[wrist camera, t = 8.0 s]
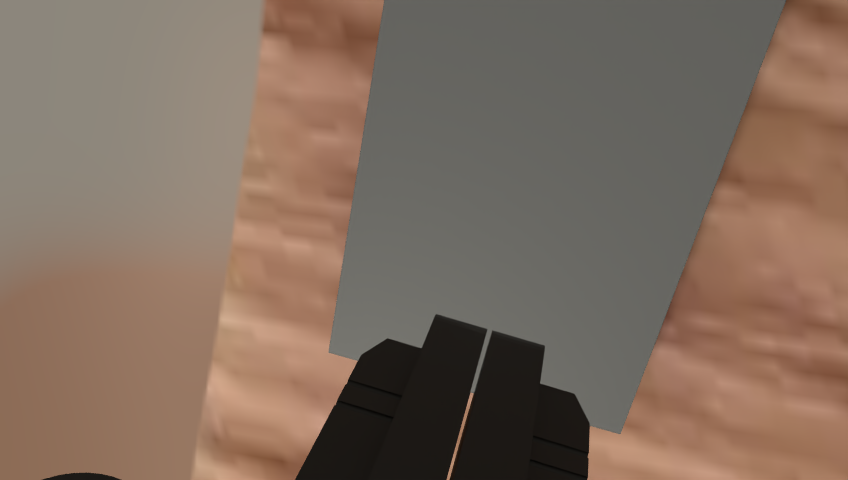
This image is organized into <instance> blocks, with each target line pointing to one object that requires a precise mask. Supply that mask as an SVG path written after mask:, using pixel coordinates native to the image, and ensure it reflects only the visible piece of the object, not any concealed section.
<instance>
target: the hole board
mask: <svg viewBox="0 0 848 480" xmlns="http://www.w3.org/2000/svg"><path fill="white" fill-rule="evenodd" d="M785 2H786V0H384V6H383V12H382V18H381V24H380V31H379V37H378V43H377V50H376V56H375V62H374V69H373V75H372V81H371V88H370V94H369V100H368V107H367V113H366V119H365V125H364V132H363V138H362V144H361V151H360V157H359V163H358V170H357V176H356V182H355V189H354V195H353V201H352V208H351V214H350V220H349V226H348V233H347V239H346V245H345V252H344V258H343V264H342V271H341V277H340V283H339V290H338V296H337V302H336V309H335V315H334V321H333V327H332V334H331V340H330V346H329V353H332V354H336V355H339V356H343V357H346V358H350V359H353V360H357V361H358V360H359V358H360V356H361V355H362V354H363V353H365V352H366V351H368V350H370V349H371V348H373V347H374V346H376V345H378V344H379V343H381V342H382V341H384V340H385V339H387V338H389V339H392V340H395V341H399V342H402V343H405V344H409V345H412V346H415V347H419V348H422V346H423V344H424V341H425V339H426V336H427V334H428V331H429V329H430V326H431V324H432V322H433V319H434V317H435V315H436V314H438V315H442V316H445V317H448V318H452V319H455V320H459V321H462V322H466V323H469V324H472V325H476V326H479V327H483V328H486V329H487V333H486V337H485V340H484V344H483V348H482V351H481V355H480V359H479V362H478V366H477V370H476V373H475V377H474V381H473V384H472V388H471V393H474V391H475V388H476V384H477V381H478V377H479V374H480V371H481V367H482V364H483V360H484V357H485V353H486V350H487V346H488V343H489V340H490V336H491V333H492V330H494V331H497V332H500V333H504V334H507V335H511V336H514V337H517V338H521V339H524V340H528V341H531V342H535V343H538V344H541V345H545V352H544V359H543V366H542V373H541V381H540V384H544V385H547V386H550V387H554V388H557V389H560V390H564V391H567V392H570V393H574V394H575V395H576V397H577V399H578V401H579V403H580V405H581V407H582V409H583V411H584V413H585V415H586V417H587V419H588V421H589V423H590V426H593V427H596V428H600V429H604V430H607V431H611V432H614V433H618V434H621V431H622V428H623V426H624V423H625V421H626V418H627V415H628V413H629V410H630V407H631V405H632V402H633V400H634V397H635V394H636V392H637V389H638V387H639V384H640V381H641V379H642V376H643V373H644V371H645V368H646V366H647V363H648V360H649V358H650V355H651V352H652V350H653V347H654V345H655V342H656V339H657V337H658V334H659V332H660V329H661V326H662V324H663V321H664V318H665V316H666V313H667V311H668V308H669V305H670V303H671V300H672V298H673V295H674V292H675V290H676V287H677V284H678V282H679V279H680V277H681V274H682V271H683V269H684V266H685V264H686V261H687V258H688V256H689V253H690V250H691V248H692V245H693V243H694V240H695V237H696V235H697V232H698V230H699V227H700V224H701V222H702V219H703V216H704V214H705V211H706V209H707V206H708V203H709V201H710V198H711V195H712V193H713V190H714V188H715V185H716V182H717V180H718V177H719V175H720V172H721V169H722V167H723V164H724V161H725V159H726V156H727V154H728V151H729V148H730V146H731V143H732V141H733V138H734V135H735V133H736V130H737V127H738V125H739V122H740V120H741V117H742V114H743V112H744V109H745V107H746V104H747V101H748V99H749V96H750V93H751V91H752V88H753V86H754V83H755V80H756V78H757V75H758V73H759V70H760V67H761V65H762V62H763V59H764V57H765V54H766V52H767V49H768V46H769V44H770V41H771V38H772V36H773V33H774V31H775V28H776V25H777V23H778V20H779V18H780V15H781V12H782V10H783V7H784V4H785Z"/></svg>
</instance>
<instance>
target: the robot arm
mask: <svg viewBox="0 0 848 480" xmlns="http://www.w3.org/2000/svg"><path fill="white" fill-rule="evenodd" d="M486 333H487V329H486V328H483V327H479V326H476V325H472V324H469V323H466V322H462V321H459V320H455V319H452V318H448V317H445V316H442V315H438V314H436V315H435V317H434V319H433V322H432V324H431V326H430V329H429V331H428V334H427V336H426V339H425V341H424V344H423V346H422V348H419V347H415V346H412V345H409V344H405V343H402V342H399V341H395V340H392V339H389V338H387V339H385V340H384V341H382V342H381V343H379V344H378V345H376V346H374V347H373V348H371V349H370V350H368V351H366V352H365V353H363V354H362V355H361V356H360V358H359V360H358V362H357V364H356V366H355V368H354V370H353V371H352V373H351V375H350V377H349V379H348V382H347V384H346V385H345V387H344V388H343V390H342V392H341V394H340V396H339V398H338V400H337V403H336V405H334V407H333V409H332V411H331V413H330V415H329V417H328V419H327V420H326V422H325V424H324V426H323V428H322V430H321V432H320V434H319V436H318V437H317V439H316V441H315V443H314V445H313V447H312V449H311V451H310V453H309V454H308V456H307V458H306V460H305V462H304V464H303V466H302V468H301V470H300V471H299V473H298V475H297V477H296V479H295V480H446V479H447V475H448V472H449V468H450V465H451V461H452V457H453V454H454V450H455V446H456V443H457V439H458V435H459V432H460V428H461V424H462V421H463V417H464V413H465V410H466V406H467V402H468V399H469V395H470V392H471V388H472V384H473V381H474V377H475V373H476V370H477V366H478V362H479V359H480V355H481V351H482V348H483V344H484V340H485V337H486ZM544 352H545V345H541V344H538V343H535V342H531V341H528V340H524V339H521V338H517V337H514V336H511V335H507V334H504V333H500V332H497V331H494V330H492V333H491V336H490V340H489V343H488V346H487V350H486V353H485V357H484V360H483V364H482V367H481V371H480V374H479V377H478V381H477V384H476V388H475V391H474V395H473V398H472V402H471V405H470V409H469V412H468V416H467V419H466V422H465V426H464V429H463V433H462V437H461V440H460V444H459V447H458V451H457V454H456V458H455V462H454V465H453V469H452V473H451V477H450V480H587V478H588V459H589V458H587V457H588V453H589V429H590V423H589V421H588V419H587V417H586V415H585V413H584V411H583V409H582V407H581V405H580V403H579V401H578V399H577V397H576V395H575V394H574V393H570V392H567V391H564V390H560V389H557V388H554V387H550V386H547V385H544V384H540V381H541V373H542V366H543V359H544ZM43 480H120V479H117V478H115V477H112V476H107V475H103V474H96V473H95V474H94V473H71V474H64V475H58V476H54V477H51V478H46V479H43Z"/></svg>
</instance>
